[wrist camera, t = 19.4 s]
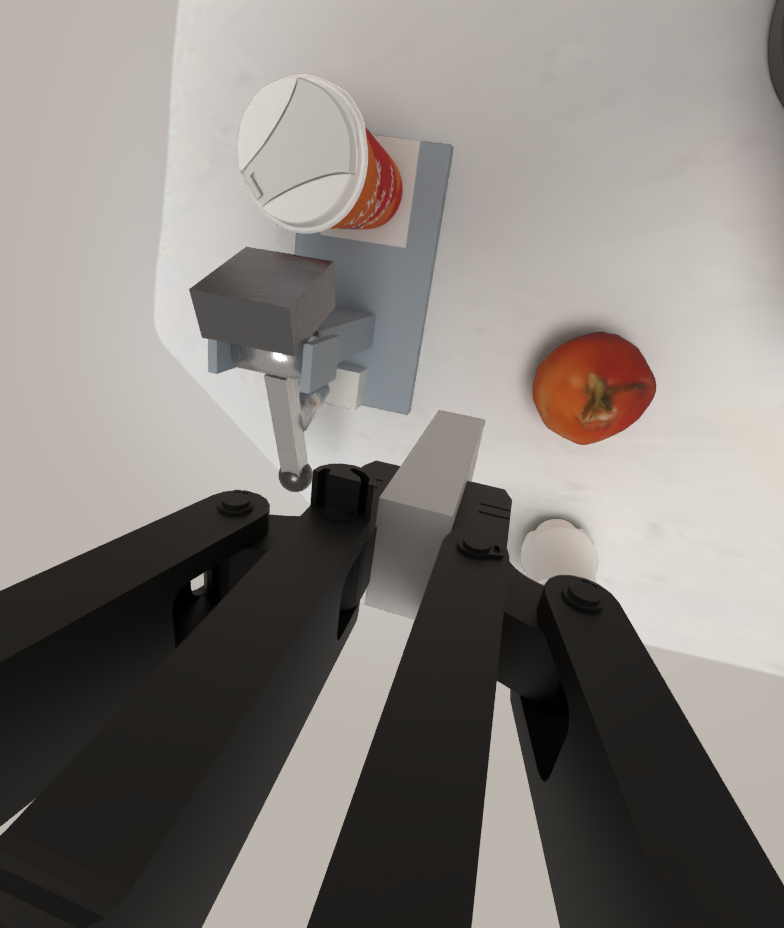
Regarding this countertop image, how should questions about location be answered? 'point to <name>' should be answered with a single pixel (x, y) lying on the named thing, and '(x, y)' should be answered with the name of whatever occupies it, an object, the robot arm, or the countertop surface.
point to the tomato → (593, 387)
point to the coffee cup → (315, 159)
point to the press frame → (375, 291)
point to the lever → (272, 336)
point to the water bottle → (558, 552)
